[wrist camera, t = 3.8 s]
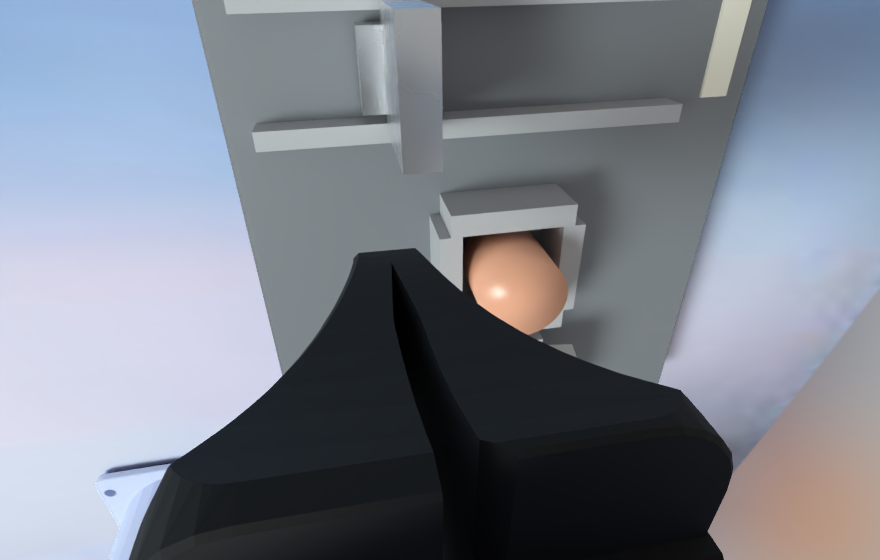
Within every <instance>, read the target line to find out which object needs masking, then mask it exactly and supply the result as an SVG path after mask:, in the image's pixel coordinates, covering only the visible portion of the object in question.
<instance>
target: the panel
mask: <svg viewBox="0 0 880 560" xmlns="http://www.w3.org/2000/svg"><path fill="white" fill-rule="evenodd" d="M421 1H424V2H427V3H430V4H432V5H435V6H438V7H441V22H442V91H443V111H442V123H443V172H434V173H422V174H410V175H403V173H402V170H401V168H400V165H399V162H398V160H397V157H396V154H395V151H394V149H393V146H392V143H391V140H390V138H389V135H388V123H387V114H385V115H369V116H363V112H362V108H361V98H360V88H359V77H358V67H357V56H356V46H355V35H354V25H353V22H376V21H380V8H379V0H192V3H193V8H194V12H195V16H196V20H197V24H198V28H199V32H200V37H201V41H202V45H203V49H204V53H205V57H206V61H207V65H208V70H209V74H210V78H211V82H212V86H213V90H214V94H215V98H216V103H217V107H218V111H219V115H220V119H221V123H222V127H223V132H224V136H225V140H226V144H227V148H228V152H229V156H230V160H231V165H232V169H233V173H234V177H235V181H236V185H237V189H238V194H239V198H240V202H241V206H242V210H243V214H244V218H245V222H246V227H247V231H248V235H249V239H250V243H251V247H252V251H253V256H254V260H255V264H256V268H257V272H258V276H259V280H260V284H261V289H262V293H263V297H264V301H265V305H266V309H267V313H268V318H269V322H270V326H271V330H272V334H273V338H274V342H275V346H276V351H277V355H278V359H279V363H280V367H281V371H282V375H284V374H285V373H286V371H287V370H288V369H289V368H290V367H291V366H292V365H293V364H294V363H295V362H296V360H297V359H298V358H299V357H300V356H301V354H302V353H303V352H304V351H305V349H306V348H307V347H308V346H309V344H310V343H311V342H312V340H313V339H314V337H315V336H316V335H317V333H318V332H319V330H320V329H321V327H322V326H323V324H324V322H325V321H326V319H327V318H328V316H329V314H330V313H331V311H332V309H333V308H334V306H335V304H336V302H337V300H338V298H339V296H340V294H341V292H342V290H343V288H344V286H345V284H346V282H347V279H348V277H349V274H350V271H351V268H352V265H353V258H354V257H355V256H356V255H357V254H358V253H363V252H375V251H386V250H397V249H409V248H416V249H417V250H418V251H419V252H420V253H421V254H422V255H423V256H424V257H425V258H426V259H427V260H428V261H429V262H430V263H431V264H432V265H433V266H434V267H435V268H436V269H437V270H439V271H440V272H441V273H442V274H443V275H444V276H445V277H446V278H447V279H448V280H449V281H450V282H452V283H453V284H454V285H455V286H456V287H457V288H459V289H460V290H461V291H462V292H463V293H464V294H466V295H467V296H468V297H469V298H471V299H472V300H473V301H475V302H476V303H477V301H476V299H475V297H474V294H473V292H472V290H471V288H470V285H469V283H468V281H467V279H466V277H465V274H464V272H463V251H464V249H465V246H466V245H467V243H468V241H469V240H470V239H471V238H472V236H478V235H488V234H498V233H508V232H518V231H527V230H529V231H530V232H531V233H532V235H533V236H534V237H535V239H536V240H537V241H538V242H539V244H540V245H541V246H542V248H543V249H544V250H545V252H546V253H547V254H548V255H549V257H550V258H551V259H552V261H553V262H554V263H555V265H556V266H557V267H558V268H559V270H560V271H561V272H562V274H563V275H564V277H565V279H566V281H567V285H568V296H567V301H566V304H565V306H564V308H563V310H562V311H561V313H560V314H559V315H558V317H557V318H556V319H555V320H554V321H553V322H552V323H550V324H549V325H548V326H546V327H545V328H543V329H541V330H540V331H537V332H535V333H532V334H529V336H531V337H533V338H535V339H537V340H539V341H541V342H543V343H545V344H547V345H562V344H572V345H573V348H574V351H575V354H576V356H577V358H579V359H582V360H584V361H587V362H590V363H592V364H595V365H598V366H601V367H604V368H606V369H609V370H612V371H615V372H618V373H621V374H624V375H628V376H631V377H635V378H639V379H642V380H646V381H649V382H653V383H656V384H658V383H659V379H660V376H661V372H662V369H663V365H664V362H665V358H666V355H667V351H668V348H669V344H670V341H671V337H672V334H673V331H674V327H675V324H676V320H677V317H678V313H679V310H680V306H681V303H682V299H683V296H684V292H685V289H686V285H687V282H688V278H689V275H690V271H691V268H692V264H693V261H694V258H695V254H696V251H697V247H698V244H699V240H700V237H701V233H702V230H703V226H704V223H705V219H706V216H707V212H708V209H709V205H710V202H711V198H712V195H713V191H714V188H715V185H716V181H717V178H718V174H719V171H720V167H721V164H722V160H723V157H724V153H725V150H726V146H727V143H728V139H729V136H730V132H731V129H732V125H733V122H734V118H735V115H736V112H737V108H738V105H739V101H740V98H741V94H742V91H743V87H744V84H745V80H746V77H747V73H748V70H749V66H750V63H751V59H752V56H753V52H754V49H755V45H756V42H757V39H758V35H759V32H760V28H761V25H762V21H763V18H764V14H765V11H766V7H767V4H768V0H421Z"/></svg>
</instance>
